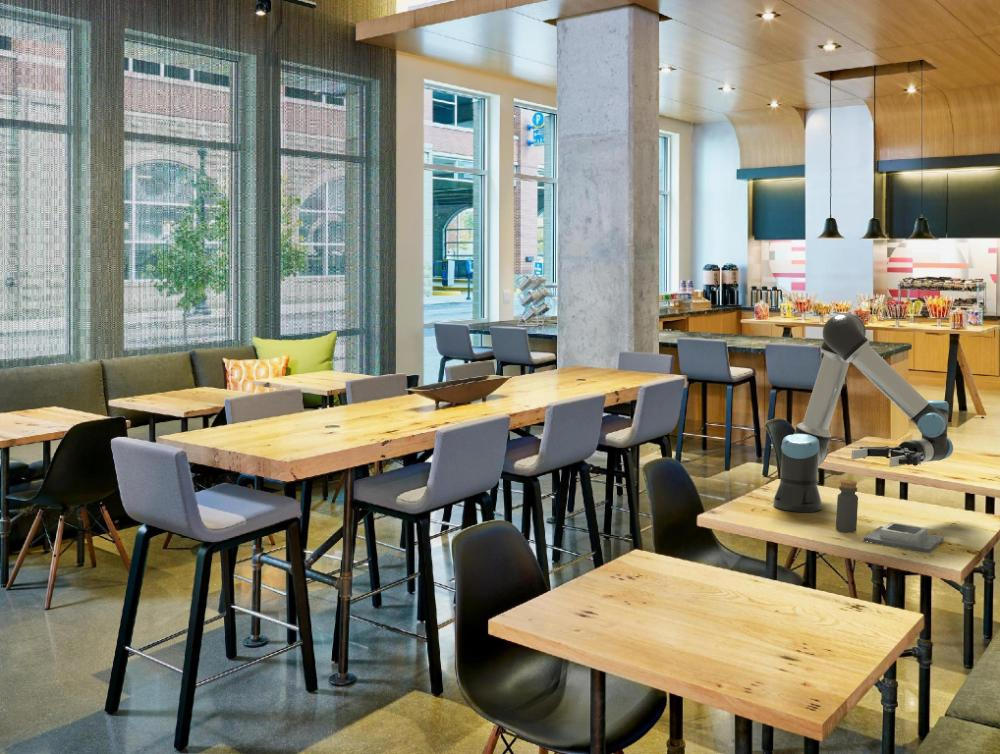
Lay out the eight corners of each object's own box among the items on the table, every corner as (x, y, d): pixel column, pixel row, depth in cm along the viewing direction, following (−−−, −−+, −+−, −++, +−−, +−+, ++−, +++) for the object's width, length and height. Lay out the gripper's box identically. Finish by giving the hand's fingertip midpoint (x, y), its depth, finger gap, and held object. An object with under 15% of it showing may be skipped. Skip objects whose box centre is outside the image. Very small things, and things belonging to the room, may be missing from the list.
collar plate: (863, 541, 284) (864, 528, 283) (880, 530, 296) (881, 518, 296) (928, 553, 273) (929, 540, 272) (943, 540, 285) (944, 528, 285)
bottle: (832, 530, 295) (835, 481, 293) (839, 526, 300) (842, 478, 298) (852, 533, 291) (855, 484, 290) (858, 529, 296) (861, 481, 294)
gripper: (950, 470, 299) (906, 478, 288) (880, 456, 320) (837, 463, 309) (951, 446, 298) (908, 453, 287) (881, 434, 319) (838, 440, 308)
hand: (871, 458), depth 298 cm, fingers open, 13 cm apart
